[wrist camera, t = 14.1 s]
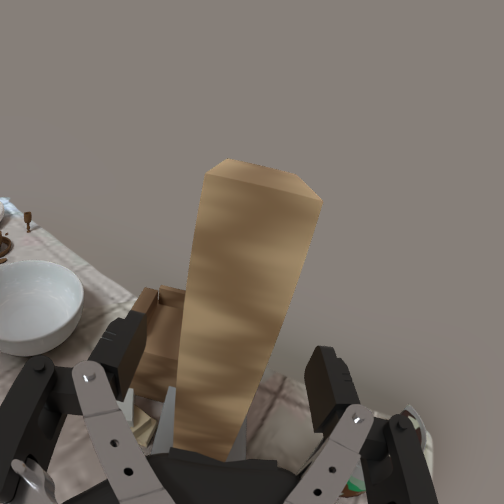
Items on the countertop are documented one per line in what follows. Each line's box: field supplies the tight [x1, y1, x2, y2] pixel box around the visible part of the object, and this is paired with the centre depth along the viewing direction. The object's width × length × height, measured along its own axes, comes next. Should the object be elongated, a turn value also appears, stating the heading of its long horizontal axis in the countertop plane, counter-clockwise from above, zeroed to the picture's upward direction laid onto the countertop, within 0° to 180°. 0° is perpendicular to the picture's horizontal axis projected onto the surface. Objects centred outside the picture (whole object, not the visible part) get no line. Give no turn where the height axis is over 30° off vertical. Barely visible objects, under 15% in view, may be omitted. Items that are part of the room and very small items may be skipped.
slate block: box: [151, 386, 247, 462], centre depth 22 cm, size 8×10×8 cm
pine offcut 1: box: [130, 404, 152, 439], centre depth 25 cm, size 6×3×2 cm, turn 62°
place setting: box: [0, 212, 31, 264], centre depth 48 cm, size 18×20×6 cm
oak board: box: [173, 158, 323, 462], centre depth 16 cm, size 4×7×22 cm, turn 179°
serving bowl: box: [0, 260, 84, 356], centre depth 32 cm, size 21×21×7 cm
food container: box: [339, 404, 426, 498], centre depth 22 cm, size 12×6×10 cm, turn 124°
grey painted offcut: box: [116, 388, 134, 427], centre depth 24 cm, size 4×3×2 cm, turn 14°
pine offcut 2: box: [136, 418, 157, 447], centre depth 26 cm, size 7×4×2 cm, turn 81°
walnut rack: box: [129, 285, 186, 403], centre depth 33 cm, size 10×10×12 cm
